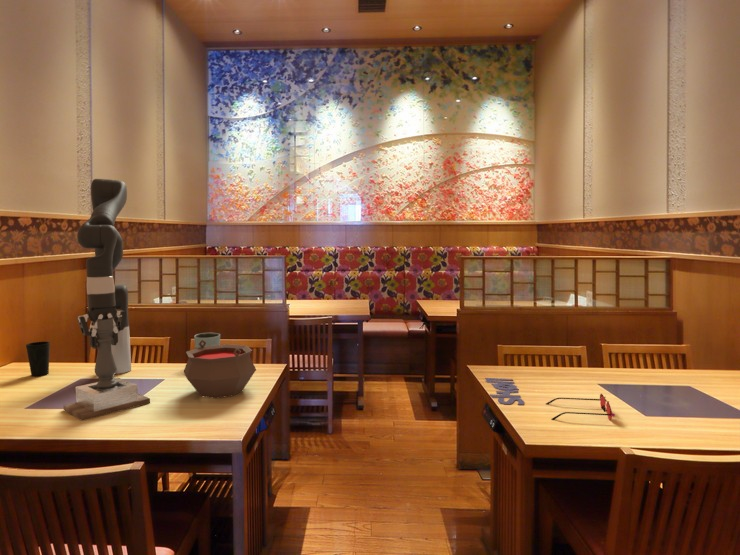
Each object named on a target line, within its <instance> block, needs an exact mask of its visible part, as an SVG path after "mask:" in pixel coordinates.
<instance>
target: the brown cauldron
mask: <svg viewBox="0 0 740 555" xmlns="http://www.w3.org/2000/svg"><path fill="white" fill-rule="evenodd" d="M202 342H203V343H204V344H203V345H202V344H201V343H202ZM205 344H206V342H205V341H204V340H203V339H202V340H201V342H200V343H199V345H200V346H201V347H200V348H197V349H196V348H194V349H191V350H187V351H185V353H186V355H187V356H188V359H187V361H186V364H185V366H184V369H183V373H184V376H185V378H186V380H187V381H188V382H189V384H191V386H192V387H193V388H194V389H195V391H196V392H197V394H199V396H200V397H202V396H204V398H211V397H213V399H218V398H217V397H219V398H225V397H224V396H227V397H232V396H231V395H233V396H235V395H237V394H239V393H241V392H243V391H244V389H245V387H246V386H247V384H248V383H249V381H250V380H251V379H252V377H253V375H254V374H255V372H256V371H257V369H256V366H255V364H254V362H253V359H251V356H250V355H251V353H252V351H253V349H252V348H250V347H249V346H248V345H243V344H242V345H240V344H229V343H228V344H227V343H225V344H220V345H214V346H205ZM242 390H243V391H242ZM240 391H241V392H240Z"/></svg>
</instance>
